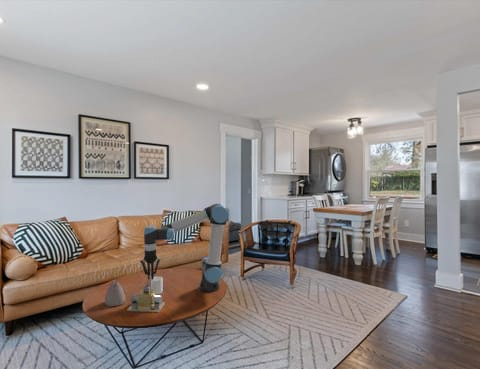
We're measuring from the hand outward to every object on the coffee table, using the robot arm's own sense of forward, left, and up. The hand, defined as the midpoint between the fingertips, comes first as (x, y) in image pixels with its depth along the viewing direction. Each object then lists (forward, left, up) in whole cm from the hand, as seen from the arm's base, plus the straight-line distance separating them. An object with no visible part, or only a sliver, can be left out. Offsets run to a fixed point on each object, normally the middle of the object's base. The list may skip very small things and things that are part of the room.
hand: (150, 284), depth 187 cm
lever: (+1, +3, -1) cm, 4 cm away
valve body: (-1, +9, -12) cm, 14 cm away
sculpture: (+22, +5, -12) cm, 26 cm away
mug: (+2, -12, -12) cm, 17 cm away
